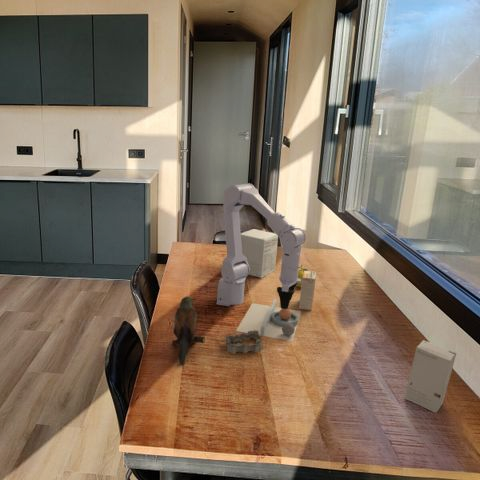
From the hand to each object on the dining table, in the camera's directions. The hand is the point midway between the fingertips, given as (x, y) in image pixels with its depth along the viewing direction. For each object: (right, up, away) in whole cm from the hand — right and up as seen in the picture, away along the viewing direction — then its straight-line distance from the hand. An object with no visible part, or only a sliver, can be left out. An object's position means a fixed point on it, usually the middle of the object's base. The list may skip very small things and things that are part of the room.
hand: (286, 303), depth 143 cm
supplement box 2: (+9, -4, +16) cm, 19 cm away
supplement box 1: (-8, +7, +51) cm, 52 cm away
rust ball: (0, -3, +1) cm, 4 cm away
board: (-5, -7, +1) cm, 9 cm away
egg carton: (-14, -11, -15) cm, 24 cm away
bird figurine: (-31, -10, -17) cm, 36 cm away
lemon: (+9, +2, +35) cm, 36 cm away
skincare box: (+31, -20, -35) cm, 51 cm away
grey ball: (0, -7, -8) cm, 11 cm away
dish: (0, -6, +2) cm, 6 cm away
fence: (-6, -7, +2) cm, 9 cm away
